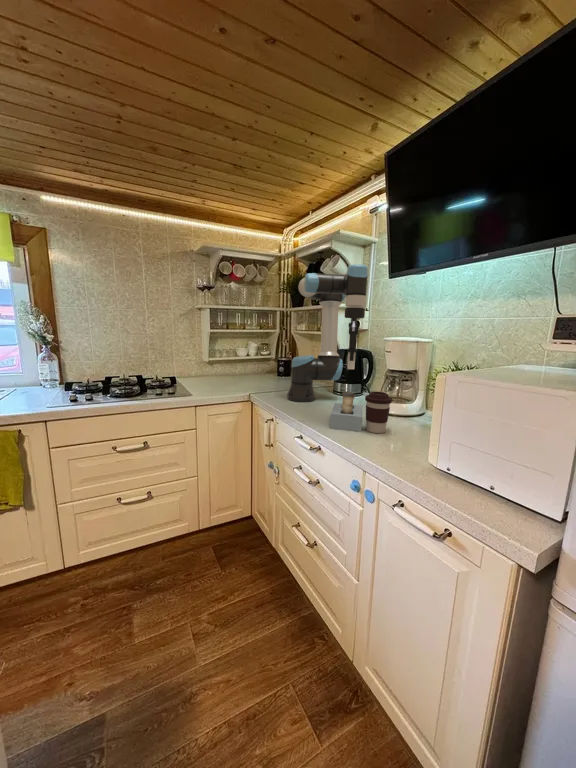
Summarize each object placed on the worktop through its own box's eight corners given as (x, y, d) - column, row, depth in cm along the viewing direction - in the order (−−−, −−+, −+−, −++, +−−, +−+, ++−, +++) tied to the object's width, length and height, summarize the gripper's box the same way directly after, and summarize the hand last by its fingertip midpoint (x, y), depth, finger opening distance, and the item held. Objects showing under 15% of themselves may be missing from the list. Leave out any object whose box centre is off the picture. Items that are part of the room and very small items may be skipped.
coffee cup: (393, 430, 125) (396, 393, 123) (381, 436, 118) (385, 397, 115) (370, 424, 132) (373, 389, 129) (357, 430, 125) (360, 392, 122)
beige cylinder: (341, 412, 130) (342, 391, 129) (352, 413, 129) (354, 392, 128) (340, 415, 126) (342, 393, 124) (352, 416, 125) (354, 394, 123)
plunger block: (333, 416, 143) (334, 403, 142) (361, 418, 140) (362, 405, 139) (329, 428, 126) (330, 413, 124) (361, 431, 123) (362, 416, 122)
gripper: (345, 308, 129) (342, 366, 133) (344, 306, 116) (340, 370, 120) (364, 309, 127) (360, 367, 131) (365, 306, 115) (360, 371, 119)
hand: (350, 368), depth 126 cm, fingers closed
